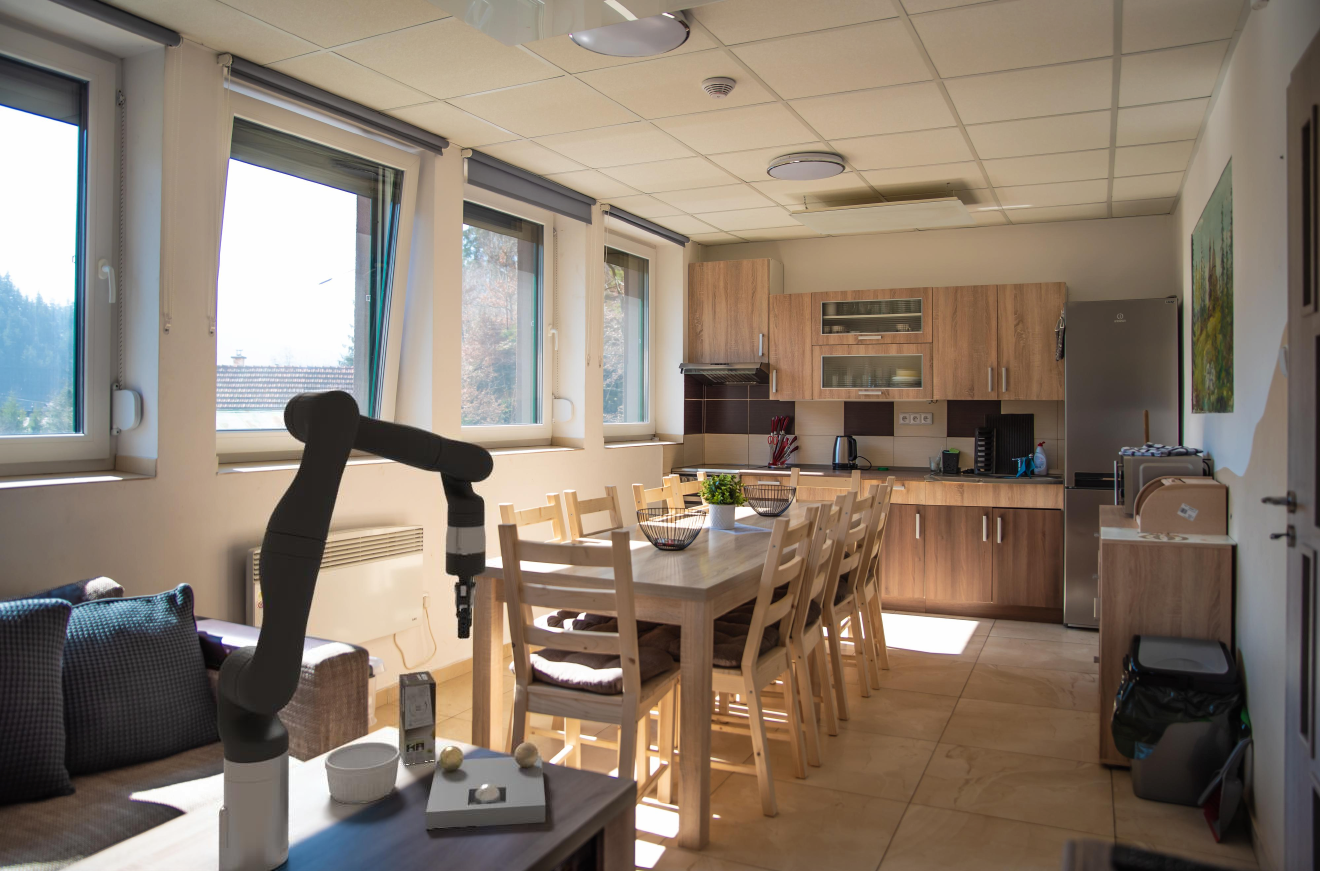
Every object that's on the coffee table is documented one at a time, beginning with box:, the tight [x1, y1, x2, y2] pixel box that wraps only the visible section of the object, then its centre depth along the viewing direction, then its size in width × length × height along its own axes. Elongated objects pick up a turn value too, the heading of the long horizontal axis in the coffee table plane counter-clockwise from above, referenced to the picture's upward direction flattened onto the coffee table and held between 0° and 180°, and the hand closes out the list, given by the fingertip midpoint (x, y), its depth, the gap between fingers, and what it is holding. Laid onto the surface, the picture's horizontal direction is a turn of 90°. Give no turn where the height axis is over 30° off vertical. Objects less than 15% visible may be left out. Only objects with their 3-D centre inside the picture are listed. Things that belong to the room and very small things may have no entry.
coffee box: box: [398, 670, 437, 766], centre depth 178 cm, size 9×6×16 cm
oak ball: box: [514, 741, 539, 767], centre depth 166 cm, size 4×4×4 cm
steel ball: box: [474, 783, 500, 805], centre depth 153 cm, size 4×4×4 cm
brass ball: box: [438, 745, 465, 771], centre depth 164 cm, size 4×4×4 cm
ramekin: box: [324, 741, 401, 804], centre depth 161 cm, size 13×13×7 cm
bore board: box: [425, 755, 546, 829], centre depth 159 cm, size 20×22×3 cm
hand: (465, 632), depth 167 cm, fingers open, 8 cm apart
